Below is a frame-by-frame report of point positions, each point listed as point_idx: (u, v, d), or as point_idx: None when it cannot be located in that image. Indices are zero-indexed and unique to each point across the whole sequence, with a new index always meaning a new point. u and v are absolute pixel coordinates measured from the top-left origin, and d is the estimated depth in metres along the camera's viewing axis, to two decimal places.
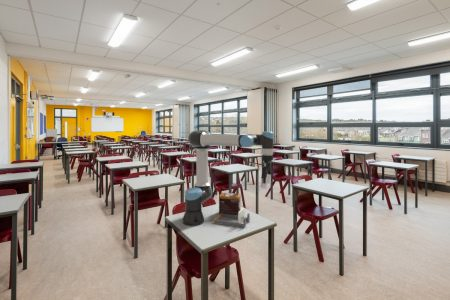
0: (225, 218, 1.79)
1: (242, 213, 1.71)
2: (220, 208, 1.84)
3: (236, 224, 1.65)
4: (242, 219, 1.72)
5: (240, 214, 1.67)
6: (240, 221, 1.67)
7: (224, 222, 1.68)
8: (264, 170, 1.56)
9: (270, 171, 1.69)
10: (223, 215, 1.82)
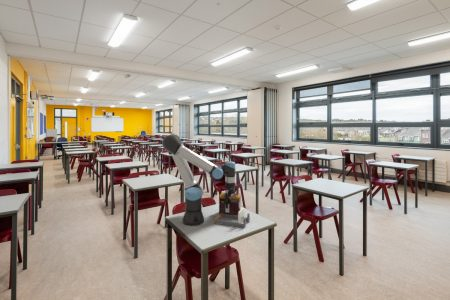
0: (225, 218, 1.79)
1: (242, 213, 1.71)
2: (220, 208, 1.84)
3: (236, 224, 1.65)
4: (242, 219, 1.72)
5: (240, 214, 1.67)
6: (240, 221, 1.67)
7: (224, 222, 1.68)
8: (226, 197, 1.80)
9: None
10: (223, 215, 1.82)
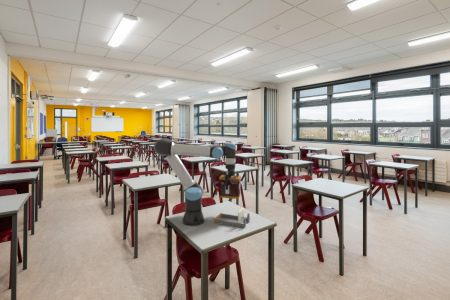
0: (225, 218, 1.79)
1: (242, 213, 1.71)
2: (220, 189, 1.82)
3: (236, 224, 1.65)
4: (242, 219, 1.72)
5: (240, 214, 1.67)
6: (240, 221, 1.67)
7: (224, 222, 1.68)
8: (226, 178, 1.78)
9: None
10: (223, 215, 1.82)
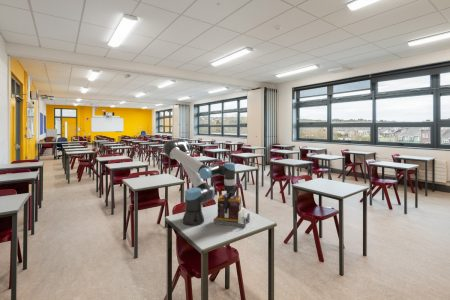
0: None
1: (242, 213, 1.71)
2: (219, 211, 1.69)
3: (236, 224, 1.65)
4: (242, 219, 1.72)
5: (240, 214, 1.67)
6: (240, 221, 1.67)
7: (224, 222, 1.68)
8: (225, 201, 1.65)
9: None
10: None
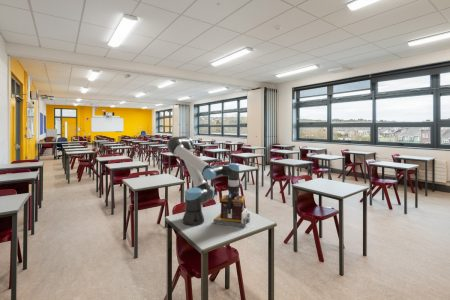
0: None
1: (245, 213, 1.70)
2: (222, 212, 1.69)
3: (236, 224, 1.65)
4: None
5: (243, 215, 1.66)
6: (243, 222, 1.67)
7: (224, 222, 1.68)
8: (229, 201, 1.64)
9: None
10: None
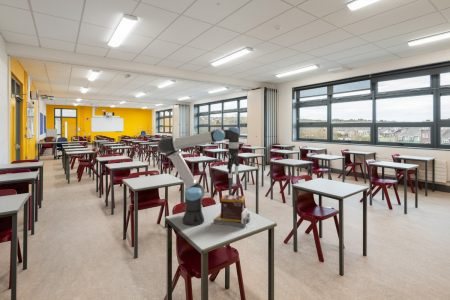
0: None
1: (245, 213, 1.70)
2: (222, 212, 1.69)
3: (236, 224, 1.65)
4: None
5: (243, 215, 1.66)
6: (243, 222, 1.67)
7: (224, 222, 1.68)
8: (229, 161, 1.74)
9: (237, 163, 1.87)
10: None
